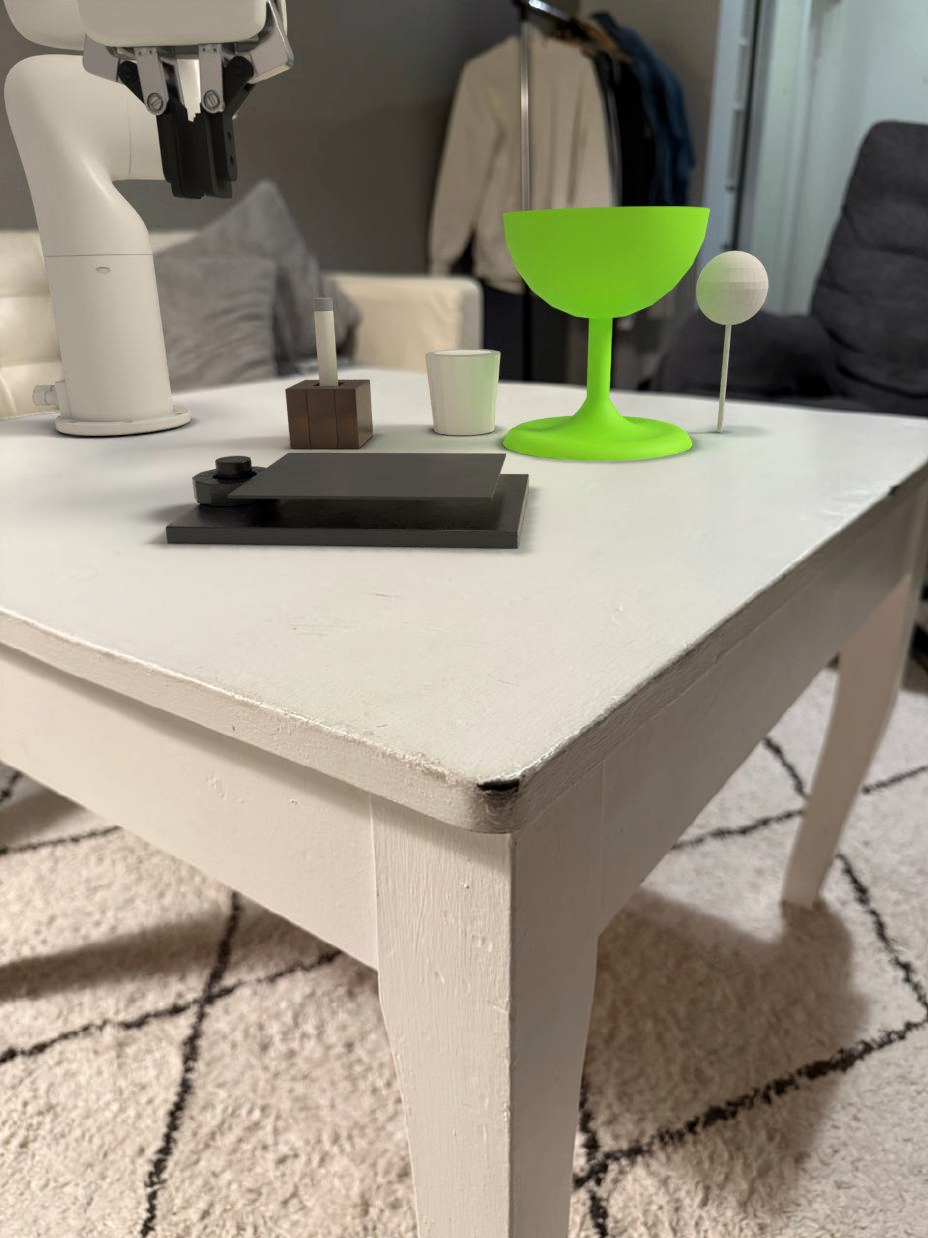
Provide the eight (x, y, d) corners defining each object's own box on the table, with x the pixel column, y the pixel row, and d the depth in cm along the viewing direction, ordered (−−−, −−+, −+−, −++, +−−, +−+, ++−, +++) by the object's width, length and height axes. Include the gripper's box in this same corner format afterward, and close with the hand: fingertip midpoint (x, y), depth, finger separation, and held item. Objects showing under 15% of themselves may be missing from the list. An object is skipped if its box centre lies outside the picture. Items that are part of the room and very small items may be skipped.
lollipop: (758, 438, 78) (777, 249, 73) (687, 438, 79) (701, 251, 74) (749, 426, 84) (766, 250, 78) (683, 425, 85) (695, 251, 79)
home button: (212, 484, 57) (209, 462, 56) (224, 476, 59) (222, 455, 58) (246, 484, 56) (244, 462, 56) (257, 476, 59) (255, 455, 58)
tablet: (154, 544, 52) (148, 502, 51) (237, 487, 65) (233, 452, 64) (517, 550, 50) (517, 505, 49) (528, 489, 63) (529, 453, 62)
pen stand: (290, 448, 78) (284, 388, 76) (308, 435, 84) (304, 379, 82) (359, 448, 77) (355, 388, 76) (373, 435, 83) (370, 379, 81)
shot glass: (494, 437, 81) (493, 355, 79) (419, 435, 82) (416, 355, 80) (506, 423, 87) (506, 347, 85) (436, 422, 89) (434, 348, 86)
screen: (227, 498, 52) (227, 495, 52) (288, 455, 63) (288, 452, 63) (491, 500, 50) (491, 497, 50) (506, 456, 61) (506, 453, 61)
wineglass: (546, 421, 88) (549, 217, 81) (712, 432, 81) (731, 211, 74) (470, 452, 75) (466, 212, 68) (661, 468, 68) (678, 203, 61)
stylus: (321, 443, 80) (310, 298, 75) (326, 440, 81) (315, 297, 77) (339, 443, 80) (329, 298, 75) (343, 440, 81) (334, 297, 77)
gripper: (329, -192, 47) (351, 197, 54) (49, -171, 49) (105, 204, 56) (287, -268, 41) (319, 189, 47) (-37, -241, 42) (39, 197, 49)
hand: (203, 195), depth 52 cm, fingers closed
